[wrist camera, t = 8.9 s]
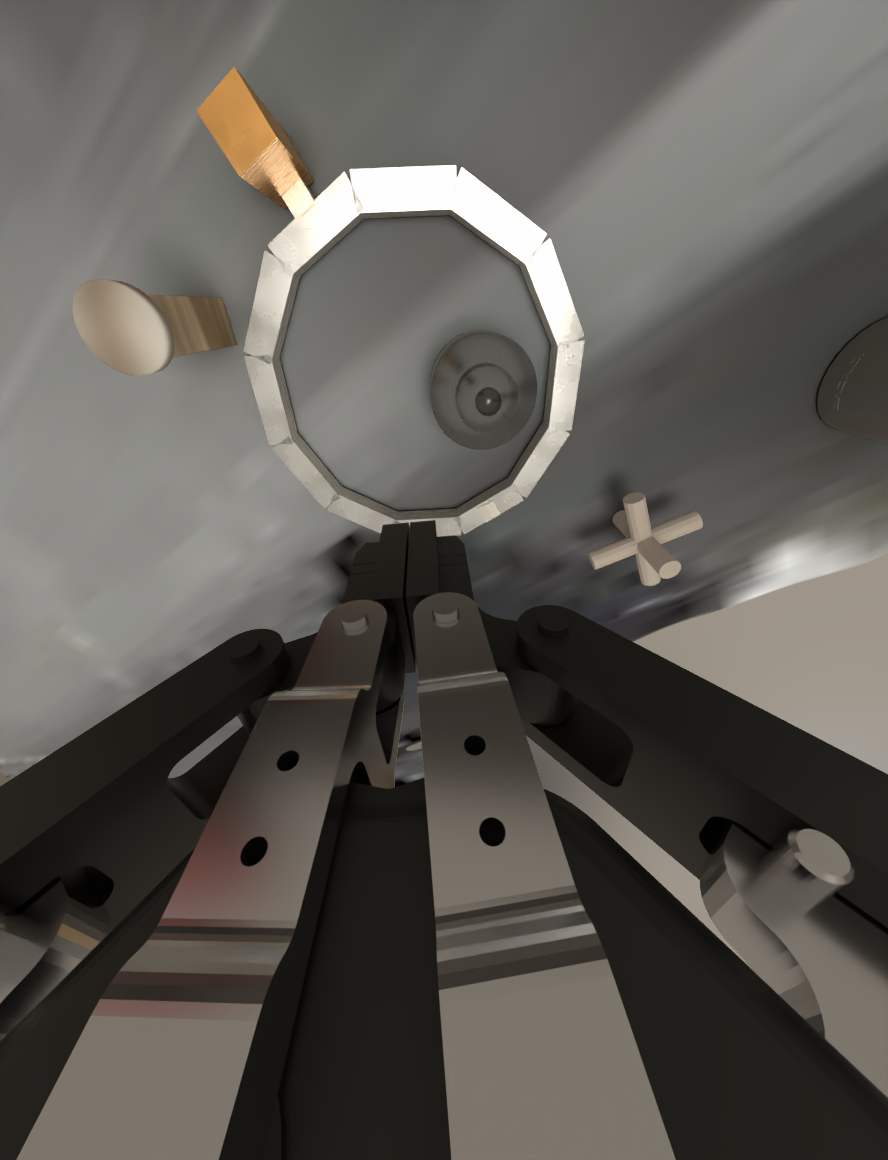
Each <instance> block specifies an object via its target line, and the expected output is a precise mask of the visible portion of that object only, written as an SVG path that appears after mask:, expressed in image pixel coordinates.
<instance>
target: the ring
mask: <svg viewBox="0 0 888 1160" xmlns="http://www.w3.org/2000/svg"><path fill="white" fill-rule="evenodd" d="M196 111H197V113H198V114H199V116H200V117H201V119H202V120H203V122H204V124H205V125H206V127H207V128H208V130H209V131H210V133H211V134H212V136H213V137H214V139H215V140H216V142H217V143H218V145H219V146H220V148H221V149H222V151H223V152H224V154H225V155H226V157H227V158H228V160H229V161H230V163H231V164H232V166H233V167H234V169H235V170H236V172H237V173H238V175H239V176H240V177H241V178H242V179H244V180H245V181H247V182H248V183H249V184H251V185H252V186H254V187H255V188H256V189H258V190H259V191H261V192H262V193H263V194H265V195H266V196H268V197H269V198H270V199H272V200H273V201H275V202H276V203H277V204H279V205H280V206H282V207H283V208H284V209H285V208H286V207H287V206H288V208H289V209H290V211H291V213H292V214H293V216H294V217H295V219H294V220H293V221H292V222H291V223H290V224H289V225H288V226H287V227H286V228H285V229H284V230H283V231H282V232H281V233H280V234H279V235H277V236H276V237H275V238H274V239H273V240H272V241H271V242H270V243H269V244H268V247H269V248H270V250H271V251H272V253H271V252H268V251H264V256H263V261H262V266H261V270H260V275H259V280H258V285H257V289H256V294H255V299H254V304H253V308H252V313H251V318H250V322H249V327H248V332H247V337H246V341H245V346H244V352H246V353H248V354H250V355H247V356H244V359H245V363H246V366H247V369H248V373H249V376H250V380H251V383H252V387H253V390H254V394H255V397H256V401H257V404H258V408H259V411H260V415H261V418H262V421H263V425H264V428H265V432H266V435H267V439H268V442H269V445H275V446H274V447H273V448H272V450H273V451H274V452H275V454H276V455H277V456H278V457H279V458H280V459H281V460H282V461H283V463H284V464H285V465H286V466H287V467H288V468H289V469H290V470H291V472H292V473H293V474H294V475H295V476H296V477H297V478H298V479H299V481H300V482H301V483H302V484H303V485H304V486H305V487H306V489H307V490H308V491H309V492H310V493H311V494H312V495H313V496H314V498H315V499H316V500H317V501H318V502H319V503H320V504H321V505H322V507H323V508H326V507H327V506H329V508H328V511H329V512H331V513H334V514H336V515H339V516H341V517H343V518H346V519H348V520H350V521H353V522H355V523H357V524H360V525H362V526H364V527H367V528H369V529H371V530H374V531H376V532H378V533H381V531H382V526H383V525H385V524H396V523H409V526H410V522H418V521H429V520H435V521H436V531H437V537H438V536H452V535H455V536H456V535H461V530H462V532H463V533H464V534H466V533H467V532H469V531H471V530H473V529H475V528H476V527H478V526H480V525H482V524H483V523H485V522H488V521H490V520H491V519H493V518H495V517H497V516H498V515H500V514H501V513H503V512H504V511H506V510H508V509H510V508H511V507H513V506H515V505H517V504H519V503H520V502H522V501H524V500H523V498H522V496H524V497H526V498H527V497H528V495H529V494H530V492H531V491H532V489H533V488H534V486H535V485H536V483H537V482H538V480H539V479H540V477H541V476H542V475H543V473H544V472H545V470H546V469H547V467H548V466H549V464H550V463H551V461H552V460H553V458H554V457H555V455H556V454H557V453H558V451H559V450H560V448H561V447H562V445H563V444H564V442H565V441H566V439H567V438H568V436H569V435H570V434H569V433H568V432H567V431H566V430H572V424H573V417H574V410H575V403H576V397H577V390H578V383H579V376H580V369H581V362H582V355H583V348H584V342H585V341H584V340H579V339H580V338H581V337H583V336H584V333H583V331H582V328H581V325H580V322H579V319H578V316H577V313H576V311H575V308H574V305H573V302H572V299H571V296H570V293H569V291H568V288H567V285H566V282H565V279H564V276H563V273H562V271H561V268H560V265H559V262H558V259H557V256H556V253H555V251H554V248H553V245H552V242H551V239H548V240H546V241H544V242H543V240H544V238H545V236H546V234H547V233H546V232H544V231H543V230H542V229H540V228H539V227H538V226H537V225H535V224H534V223H533V222H532V221H530V220H529V219H528V218H526V217H525V216H524V215H523V214H521V213H520V212H519V211H517V210H516V209H515V208H514V207H512V206H511V205H510V204H509V203H507V202H506V201H505V200H503V199H502V198H501V197H500V196H498V195H497V194H496V193H494V192H493V191H492V190H491V189H489V188H488V187H487V186H485V185H484V184H483V183H482V182H480V181H479V180H478V179H477V178H475V177H474V176H473V175H471V174H470V173H469V172H468V171H466V170H465V169H464V168H462V167H461V170H460V172H459V175H458V177H457V180H456V165H444V166H418V167H392V168H367V169H350V176H351V182H350V180H349V179H348V177H347V175H346V173H345V172H343V173H342V174H341V175H340V176H339V177H338V178H337V179H336V180H335V181H334V182H333V183H332V184H331V185H330V186H329V187H328V188H327V189H326V190H324V191H323V192H322V193H321V194H320V195H319V196H318V197H317V198H316V199H315V197H314V195H313V194H312V192H311V190H310V188H309V187H308V186H309V185H310V184H311V183H312V182H313V181H314V180H313V178H312V177H311V175H310V173H309V172H308V170H307V168H306V166H305V165H304V163H303V161H302V160H301V158H300V156H299V154H298V153H297V151H296V149H295V148H294V146H293V144H292V142H291V141H290V139H289V137H288V136H287V134H286V132H285V131H284V129H283V128H282V127H281V125H280V124H279V123H278V122H277V120H276V119H275V118H274V116H273V115H272V114H271V113H270V111H269V110H268V109H267V107H266V106H265V105H264V104H263V102H262V101H261V100H260V99H259V97H258V96H257V95H256V93H255V92H254V91H253V90H252V88H251V87H250V86H249V84H248V83H247V82H246V81H245V79H244V78H243V77H242V75H241V74H240V73H239V72H238V70H237V69H236V68H235V67H233V68H232V69H231V70H230V72H229V73H228V74H227V75H226V76H225V77H224V79H223V80H222V81H221V82H220V83H219V84H218V86H217V87H216V88H215V89H214V90H213V92H212V93H211V94H210V95H209V96H208V97H207V99H206V100H205V101H204V102H203V103H202V104H201V106H200V107H199V108H198V109H197V110H196ZM441 215H450V216H451V217H453V218H454V219H456V220H457V221H458V222H460V223H461V224H462V225H464V226H465V227H466V228H468V229H469V230H471V231H472V232H473V233H475V234H476V235H477V236H479V237H480V238H482V239H483V240H484V241H486V242H487V243H488V244H490V245H491V246H492V247H494V248H495V249H497V250H498V251H499V252H501V253H502V254H503V255H505V256H506V257H508V258H509V259H510V260H512V261H513V262H514V263H516V264H517V265H518V266H520V268H521V271H522V273H523V276H524V278H525V281H526V283H527V286H528V288H529V291H530V293H531V296H532V298H533V301H534V303H535V306H536V308H537V311H538V313H539V316H540V318H541V321H542V323H543V326H544V328H545V331H546V333H547V336H548V338H549V341H550V343H551V351H550V361H549V371H548V380H547V390H546V399H545V409H544V419H543V422H542V424H541V426H540V427H539V429H538V430H537V432H536V434H535V435H534V437H533V438H532V440H531V441H530V443H529V445H528V446H527V448H526V449H525V451H524V452H523V454H522V456H521V457H520V459H519V460H518V462H517V464H516V465H515V467H514V468H513V470H512V471H511V473H510V475H509V476H508V478H506V479H505V480H503V481H501V482H500V483H498V484H496V485H495V486H493V487H491V488H490V489H488V490H486V491H485V492H483V493H481V494H480V495H478V496H476V497H474V498H473V499H471V500H469V501H468V502H466V503H464V504H463V505H461V506H459V507H458V508H456V509H439V510H420V511H401V512H397V511H395V510H393V509H391V508H388V507H386V506H384V505H382V504H380V503H377V502H375V501H373V500H371V499H368V498H366V497H364V496H362V495H360V494H357V493H355V492H353V491H351V490H349V489H346V488H344V487H342V486H341V485H340V484H339V483H338V481H337V480H336V479H335V478H334V477H333V475H332V474H331V473H330V472H329V470H328V469H327V468H326V467H325V466H324V464H323V463H322V462H321V461H320V460H319V458H318V457H317V456H316V455H315V454H314V452H313V451H312V450H311V449H310V447H309V446H308V445H307V444H306V443H305V441H304V440H303V439H302V438H301V437H300V435H299V434H298V432H297V428H296V423H295V419H294V415H293V411H292V407H291V403H290V399H289V395H288V391H287V386H286V382H285V378H284V374H283V370H282V366H281V362H280V354H281V350H282V346H283V342H284V338H285V335H286V331H287V327H288V323H289V319H290V315H291V311H292V307H293V303H294V300H295V296H296V292H297V288H298V284H299V280H300V276H301V275H302V274H303V273H304V272H305V271H307V270H308V269H309V268H310V267H311V266H312V265H313V264H314V263H315V262H317V261H318V260H319V259H320V258H321V257H322V256H323V255H324V254H325V253H327V252H328V251H329V250H330V249H331V248H332V247H333V246H334V245H335V244H337V243H338V242H339V241H340V240H341V239H342V238H343V237H344V236H346V235H347V234H348V233H349V232H350V231H351V230H352V229H353V228H354V227H356V226H357V225H358V224H359V223H360V222H361V221H362V220H363V219H368V218H392V217H417V216H441ZM521 495H522V496H521Z"/></svg>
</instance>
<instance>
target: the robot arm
mask: <svg viewBox="0 0 888 1160" xmlns="http://www.w3.org/2000/svg"><path fill="white" fill-rule="evenodd" d="M817 406H818V413H819V415H820V417H821V420H822V421H823V422H824V423H825V424H826V425H828V426H830V427H832V428H834V429H838V430H841V431H845V432H848V433H851V434H855V435H858V436H862V437H865V438H869V439H871V440H874V441H878V442H881V443H885V444H888V317H886V318H884V319H882V320H880V321H878V322H876V323H874V324H873V325H871V326H870V327H868V328H867V329H865V330H864V331H862V332H861V333H860V334H859V335H857V336H856V337H855V338H854V339H853V340H852V341H851V342H849V343H848V345H847V346H846V347H845V348H844V349H843V350H842V351H841V352H840V353H839V354H838V356H837V357H836V359H835V360H834V361H833V363H832V364H831V366H830V367H829V369H828V371H827V373H826V374H825V376H824V378H823V380H822V383H821V386H820V389H819V392H818V400H817ZM415 662H416V663H417V669H418V678H419V684H417V691H418V705H419V717H420V730H421V743H422V755H423V768H424V778H422V779H419V780H416V781H413V782H410V783H408V784H405V785H402V786H399V787H396V788H395V787H394V776H395V766H396V759H397V751H398V744H399V737H400V729H401V722H402V715H403V708H404V694H403V689H404V677H405V673H411V672H415ZM236 716H238V718H239V719H240V721H241V723H242V724H243V726H242V727H241V728H240V729H239V730H238V731H236V732H235V733H234V734H233V735H231V736H230V737H229V738H228V739H227V740H225V741H224V742H223V743H222V744H220V745H219V746H218V747H217V748H216V749H214V750H213V751H212V752H211V753H209V754H208V755H207V756H206V757H205V758H203V759H202V760H201V761H200V762H198V763H197V764H196V765H195V766H194V767H192V768H191V769H190V770H189V771H187V772H186V773H184V774H183V775H181V776H179V777H176V778H168V776H169V773H170V772H171V770H172V769H173V767H174V766H175V765H176V764H177V763H178V762H179V761H180V760H181V759H182V758H184V757H185V756H186V755H187V754H189V753H190V752H191V751H193V750H194V749H195V748H196V747H198V746H199V745H200V744H201V743H203V742H204V741H205V740H206V739H208V738H209V737H210V736H212V735H213V734H214V733H215V732H217V731H218V730H219V729H220V728H222V727H223V726H224V725H225V724H227V723H228V722H229V721H231V720H232V719H233V718H234V717H236ZM526 735H527V736H528V737H529V738H531V740H533V741H534V742H535V743H536V744H538V745H539V746H540V747H541V748H543V750H545V751H546V752H547V753H548V754H549V755H551V756H552V757H553V758H554V759H555V760H557V761H558V762H559V763H560V764H561V765H563V766H564V767H565V768H566V769H568V770H569V771H570V772H571V773H572V774H573V775H575V776H576V777H577V778H578V779H579V780H581V781H582V782H583V783H584V784H585V785H587V786H588V787H589V788H590V789H592V790H593V791H594V792H595V793H596V794H597V795H599V796H600V797H601V798H602V799H603V800H605V801H606V802H607V803H608V804H609V805H611V806H612V807H613V808H614V809H616V810H617V811H618V812H619V813H620V814H621V815H622V816H624V817H625V818H626V819H627V820H629V821H630V822H631V823H632V824H633V825H634V826H636V827H637V828H638V829H639V830H641V831H642V832H643V833H644V834H645V835H646V836H648V837H649V838H650V839H651V840H653V841H654V842H655V843H656V844H657V845H658V846H660V847H661V848H662V849H663V850H665V851H666V852H667V853H668V854H669V855H671V856H672V857H673V858H674V859H675V860H676V861H678V862H679V863H680V864H681V865H683V866H684V867H685V868H686V869H687V870H688V871H690V872H691V873H692V874H693V875H694V876H696V877H697V878H698V879H699V880H700V889H701V895H702V899H703V902H704V905H705V907H706V910H707V912H708V914H709V916H710V918H711V920H712V921H713V923H714V925H715V926H716V928H717V929H718V931H719V932H720V933H721V934H722V936H723V937H724V938H725V940H726V941H727V942H728V943H729V944H730V945H731V946H732V947H733V948H734V949H735V950H736V951H737V952H738V954H739V955H740V956H742V958H743V959H744V960H745V961H746V963H747V964H748V965H749V966H748V965H747V964H745V963H744V962H743V961H742V960H741V959H740V958H739V957H738V956H737V955H736V954H735V953H734V952H733V951H732V950H731V949H729V948H728V947H727V946H726V945H725V944H724V943H723V942H722V941H721V940H720V939H719V938H718V937H717V936H716V935H715V934H714V933H712V932H711V931H710V930H709V929H708V928H707V927H706V926H705V925H704V924H703V923H702V922H701V921H700V920H698V918H697V917H695V915H693V914H692V913H691V912H690V911H689V910H688V909H687V908H686V907H685V906H684V905H683V904H682V903H681V902H680V901H679V900H678V899H676V898H675V897H674V896H673V895H672V894H671V893H670V892H669V891H668V890H667V889H666V888H665V887H664V886H663V885H662V884H661V883H659V882H658V881H657V880H656V879H655V878H654V877H653V876H652V875H651V874H650V873H649V872H648V871H647V870H646V869H645V868H644V867H642V866H641V865H640V864H639V863H638V862H637V861H636V860H635V859H634V858H633V857H632V856H631V855H630V854H629V853H628V852H627V851H626V850H624V849H623V848H622V847H621V846H620V845H619V844H618V843H617V842H616V841H615V840H614V839H613V838H612V837H611V836H610V835H609V834H607V833H606V832H605V831H604V830H603V829H602V828H601V827H600V826H599V825H598V824H597V823H596V822H595V821H594V820H592V819H591V818H590V817H589V816H588V815H587V814H585V813H584V812H583V811H581V810H580V809H579V808H577V807H576V806H575V805H573V804H572V803H570V802H568V801H567V800H565V799H563V798H562V797H560V796H558V795H556V794H554V793H552V792H550V791H548V790H545V789H543V786H542V783H541V780H540V777H539V773H538V770H537V767H536V765H535V761H534V759H533V755H532V752H531V749H530V746H529V743H528V740H527V737H526ZM0 1160H888V774H886V773H884V772H882V771H880V770H878V769H876V768H874V767H872V766H870V765H868V764H866V763H865V762H863V761H861V760H859V759H857V758H855V757H853V756H851V755H849V754H847V753H845V752H844V751H842V750H840V749H838V748H835V747H834V746H832V745H830V744H828V743H826V742H824V741H822V740H820V739H818V738H817V737H815V736H813V735H811V734H809V733H807V732H805V731H803V730H801V729H799V728H797V727H795V726H794V725H792V724H790V723H788V722H786V721H784V720H782V719H780V718H778V717H776V716H774V715H772V714H770V713H768V712H767V711H765V710H763V709H761V708H759V707H757V706H755V705H753V704H751V703H749V702H747V701H745V700H743V699H742V698H740V697H738V696H736V695H734V694H732V693H730V692H728V691H726V690H724V689H722V688H720V687H718V686H716V685H715V684H713V683H711V682H709V681H707V680H705V679H703V678H701V677H699V676H697V675H695V674H693V673H691V672H690V671H688V670H686V669H684V668H682V667H680V666H678V665H676V664H674V663H672V662H670V661H668V660H667V659H664V658H663V657H661V656H659V655H657V654H655V653H653V652H651V651H649V650H647V649H645V648H643V647H641V646H640V645H638V644H636V643H634V642H632V641H630V640H628V639H626V638H624V637H622V636H620V635H618V634H616V633H615V632H613V631H611V630H609V629H607V628H605V627H603V626H601V625H599V624H597V623H595V622H593V621H591V620H590V619H588V618H586V617H584V616H582V615H580V614H578V613H576V612H574V611H572V610H570V609H567V608H564V607H560V606H553V605H543V606H537V607H533V608H531V609H529V610H527V611H525V612H524V613H523V614H522V615H521V616H520V617H519V619H518V621H513V620H506V619H501V618H496V617H493V616H491V615H489V614H487V613H485V612H483V611H482V610H481V609H480V608H479V607H478V606H477V604H476V603H475V601H474V598H473V592H472V587H471V581H470V575H469V569H468V564H467V558H466V552H465V546H464V543H463V542H462V541H461V540H460V539H459V538H457V537H456V536H455V535H452V536H441V537H437V531H436V521H435V520H429V521H418V522H410V526H409V523H396V524H385V525H383V526H382V531H381V536H380V542H373V543H366V544H365V545H364V546H363V547H362V548H361V549H360V550H359V551H358V552H357V553H356V556H355V559H354V563H353V567H352V570H351V576H350V578H349V581H348V585H347V589H346V592H345V596H344V600H343V603H342V604H341V605H339V606H337V607H336V608H334V609H333V610H331V611H330V612H329V613H328V614H327V615H326V617H325V618H324V620H323V622H322V624H321V626H320V629H319V631H318V632H317V633H315V634H313V635H310V636H307V637H304V638H300V639H297V640H294V641H291V642H288V643H284V642H283V639H282V637H281V636H280V634H278V633H277V632H275V631H273V630H269V629H255V630H250V631H246V632H243V633H241V634H238V635H236V636H234V637H232V638H230V639H229V640H227V641H226V642H224V643H222V644H221V645H219V646H218V647H216V648H215V649H213V650H212V651H210V652H208V653H207V654H205V655H204V656H202V657H201V658H199V659H198V660H196V661H194V662H193V663H191V664H190V665H188V666H187V667H185V668H184V669H182V670H181V671H179V672H177V673H176V674H174V675H173V676H171V677H170V678H168V679H167V680H165V681H163V682H162V683H160V684H159V685H157V686H156V687H154V688H153V689H151V690H149V691H148V692H146V693H145V694H143V695H142V696H140V697H139V698H137V699H136V700H134V701H132V702H131V703H129V704H128V705H126V706H125V707H123V708H122V709H120V710H118V711H117V712H115V713H114V714H112V715H111V716H109V717H108V718H106V719H104V720H103V721H101V722H100V723H98V724H97V725H95V726H94V727H92V728H91V729H89V730H87V731H86V732H84V733H83V734H81V735H80V736H78V737H77V738H75V739H73V740H72V741H70V742H69V743H67V744H66V745H64V746H63V747H61V748H59V749H58V750H56V751H55V752H53V753H52V754H50V755H49V756H47V757H45V758H44V759H42V760H41V761H39V762H38V763H36V764H35V765H33V766H32V767H30V768H28V769H27V770H25V771H24V772H22V773H21V774H19V775H18V776H16V777H14V778H13V779H11V780H10V781H8V782H7V783H5V784H4V785H2V786H1V787H0Z"/></svg>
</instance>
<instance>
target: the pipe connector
mask: <svg viewBox="0 0 888 1160" xmlns="http://www.w3.org/2000/svg"><path fill="white" fill-rule="evenodd" d="M623 503H624V508H625V510H621V511H618V512H617V513H616V514H615V515H614V516H613V519H612V521H613V523H614V525H615V526H616V527H617V528H618V529H619V530H620V531H621V532H622V534H623V535H624V536H625V537H626V538H624V539H621V540H619V541H616V542H614V543H611V544H609V545H606V546H604V547H601V548H599V549H596V550H594V551H591V552H589V553H588V557H589V560H590V562H591V564H592V566H593V568H594V569H595V570H596V569H598V568H601V567H604V566H606V565H609V564H611V563H614V562H616V561H619V560H621V559H624V558H627V557H629V556H632V555H634V554H635V557H636V561H637V565H638V570H639V574H640V579H641V583H642V584H644V585H646V586H653V585H656V584H658V583H659V582H660V580H661V578H660V576H661V577H662V578H665V579H668V578H672V577H674V576H675V575H677V574H678V573H679V571H680V569H681V564H680V563H679V562H678V561H677V560H676V559H675V558H674V557H673V556H672V555H671V554H670V553H669V552H668V551H667V550H666V549H665V548H664V547H663V546H662V545H661V544H662V543H665V542H668V541H670V540H673V539H675V538H678V537H680V536H683V535H685V534H688V533H691V532H693V531H696V530H698V529H701V528H702V527H703V522H702V519H701V517H700V515H699V514H698V513H697V512H696V511H691V512H689V513H686V514H684V515H681V516H679V517H676V518H674V519H671V520H669V521H666V522H664V523H661V524H659V525H656V526H654V527H651V525H650V520H649V515H648V509H647V504H646V499H645V495H644V493H641V492H634V493H631V494H628V495H627V496H625V497H624V498H623Z"/></svg>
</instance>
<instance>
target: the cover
mask: <svg viewBox="0 0 888 1160" xmlns="http://www.w3.org/2000/svg"><path fill="white" fill-rule="evenodd" d="M430 391H431V402H432V408H433V412H434V415H435V418H436V420H437V422H438V424H439V426H440V428H441V429H442V430H443V431H444V433H445V434H446V435H447V436H448V437H449V438H450V439H452V440H453V441H454V442H456V443H458V444H459V445H462V446H464V447H467V448H471V449H490V448H494V447H498V446H500V445H502V444H504V443H506V442H508V441H509V440H511V439H512V438H513V437H515V436H516V435H517V434H518V433H519V432H520V431H521V430H522V428H523V427H524V426H525V424H526V423H527V421H528V420H529V418H530V416H531V414H532V411H533V408H534V405H535V401H536V395H537V380H536V374H535V370H534V367H533V365H532V362H531V360H530V359H529V357H528V355H527V354H526V353H525V351H524V350H523V349H522V348H521V347H520V346H519V345H518V344H517V343H515V342H514V341H512V340H511V339H509V338H507V337H505V336H502V335H499V334H496V333H493V332H489V331H484V330H474V331H469V332H466V333H463V334H461V335H459V336H457V337H455V338H454V339H452V340H451V341H450V342H449V343H448V344H446V345H445V347H444V348H443V349H442V350H441V352H440V353H439V355H438V356H437V358H436V361H435V363H434V366H433V368H432V373H431V379H430Z"/></svg>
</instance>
